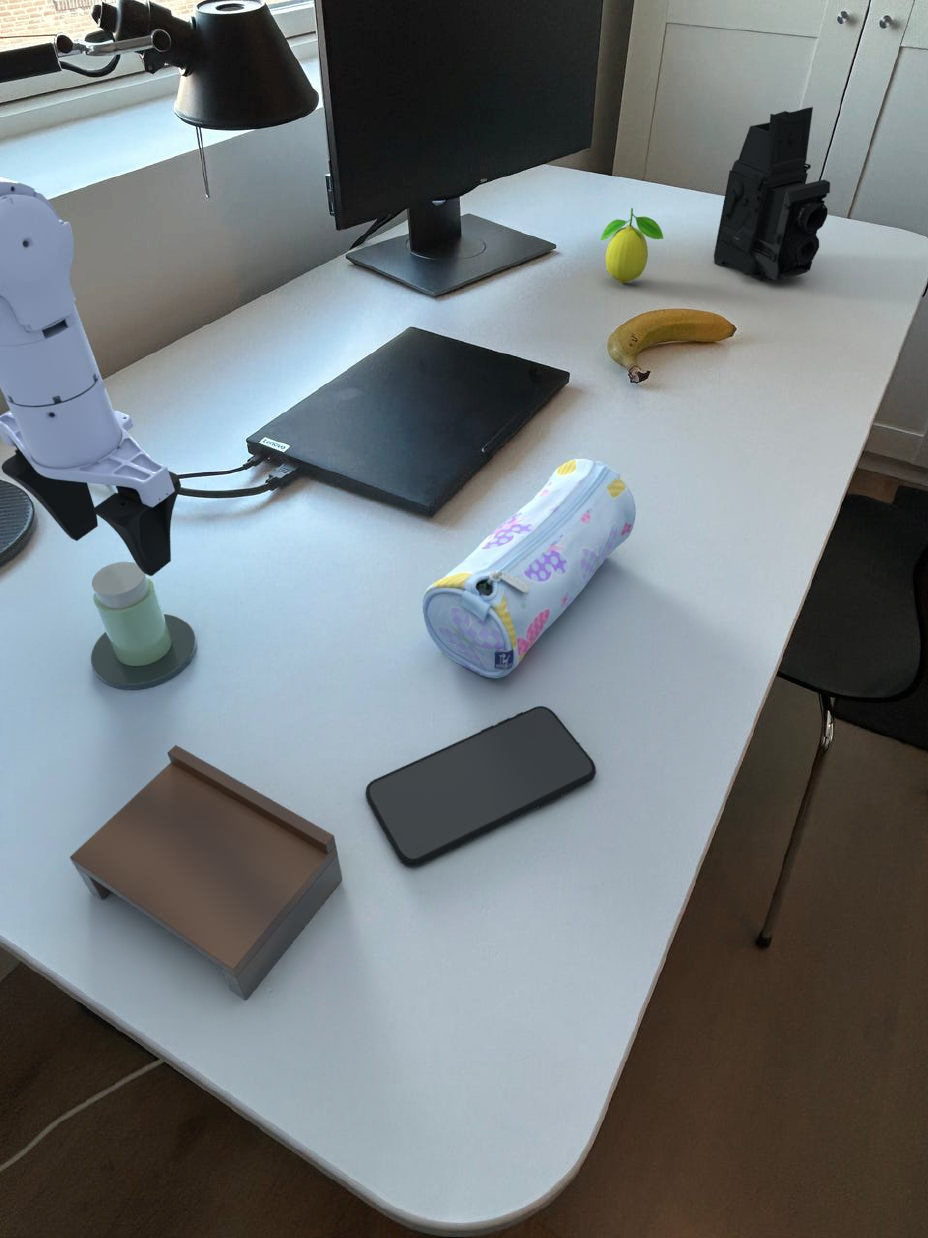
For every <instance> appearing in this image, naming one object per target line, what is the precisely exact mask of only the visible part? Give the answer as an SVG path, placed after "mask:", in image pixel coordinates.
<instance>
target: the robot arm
mask: <svg viewBox="0 0 928 1238" xmlns="http://www.w3.org/2000/svg"><path fill="white" fill-rule="evenodd" d="M35 190H36V189H35V188H33V187H32V186H29V185H27V184H24V183H21V182H19V181H15V180H10V179H8V178H4V177H0V391H1V392H2V394H3V397H4V399H5V401H6V403H7V406H8V409H9V410H8V411H6V412H5V413H2V414H1V415H0V437H1V440H2V442H3V443H4V444H5V445H7V446H10V447H12V448H13V447H15V448H16V449H15V450H14V453H15V454H14V455H12V456H10V457H9V458H7V459H6V460H5V461H4V462H3V463H2V464H1V471H2V472H3V473H4V474H5V475H6V476H8V477H9V478H11V479H12V480H13V481H15V482H16V483H17V484H19V485H20V486H21V487H23V489H25V490H26V491H28V493H30V494H31V495H32V496H33V497H34V498H35V499H36V500H37V501H38V502H39V503H40V505H42V507H43V508H44V509H45V510H46V511H47V512H48V514H49V515H50V516H51V517H52V519H53V520H54V521H55V523H57V525H58V526H59V527H60V528H61V530H62V531H63V532H64V533H65V534H66V535H67V536H68V537H69V539H72V540H73V541H76V542H78V541H79V540H81V539H82V538H83V537H85V536H86V535H88V534H89V533H90V532H92V531H93V530H95V529H96V528H98V527H99V525H98V523H99V522H98V517H99V518H101V519H102V520H103V521H104V522H106V523H107V524H108V525H109V526H110V527H111V528H112V529H113V530H114V531H115V532H116V534H117V535H118V536H119V537H120V538H121V541H123V543H124V544H125V546H126V548H127V549H128V551H129V553H130V556H131V557H132V559H133V560H134V563H136V564H137V565H138V567H139V568H140V569H141V570H142V571H143V572H144V573H145V574H146V576H148V577H153V576H155V574H157V573H158V572H160V570H162V569H163V568H164V567H166V566H167V565H168V564H169V563H171V562H172V547H171V526H172V525H171V524H172V516H173V512H174V507H175V503H176V500H177V497H178V495H179V492H180V490H181V487H182V484H181V481H180V477H179V475H178V474H177V473H176V472H173V471H171V470H169V469H168V466H165V465H164V464H162V463H159V462H158V461H156V460H155V459H153V458H152V456H150V455H149V454H148V453H147V452H146V451H145V450H144V448H143V447H142V446H141V445H139V443H138V442H137V441H136V440H135V439H134V437H132V435H130V434H129V432H128V431H130V430H131V429H132V428H133V427H134V423H133V419H132V416H130V415H128V414H125V413H122V412H120V411H117V410H114V408H113V405H112V403H111V400H110V397H109V394H108V392H107V389H106V386H105V383H104V380H103V377H102V374H101V372H100V369H99V367H98V364H97V361H96V358H95V355H94V352H93V350H92V347H91V344H90V342H89V339H88V336H87V334H86V331H85V328H84V325H83V323H82V319H81V317H80V315H79V311H78V309H77V306H76V303H75V302H76V301H77V298H76V295H75V293H74V291H73V288H72V285H71V284H72V283H71V278H70V277H71V276H70V275H71V268H72V264H73V259H74V252H75V241H74V233H73V230H72V226H71V222H69V221H64V220H62V219H60V217H59V215H58V212H56V209H55V208H54V206H53V205H52V203H51V202H50V201H49V200H48V199H47V198H46V197H45V196H44V194H42V193H40V192H36V191H35ZM88 484H97V485H105V486H115V488H116V490H117V492H114V493H112V494H111V495H109V497H107V498H106V499H104V500H102V501H101V502H100V503H98V504H97V505H95V504H94V501H93V498H92V494H91V491H90V489H89V485H88Z"/></svg>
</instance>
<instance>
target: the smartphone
mask: <svg viewBox="0 0 928 1238" xmlns="http://www.w3.org/2000/svg"><path fill="white" fill-rule="evenodd" d="M596 774H597V767H596V765H595V762H594V760H593V758H591V757H590V755H589V754H588V753H587V751H586V750H585V749H584V748H583V747H582V745H581V744H580V743H579V742H578V740H577V739H576V738H575V737H574V735H573V733H571V732H570V730H569V729H568V728H567V727H566V726H565V724H564V723H563V722H562V720H561V719H560V718H559V717H558V716H557V714H556V713H555V712H554V711H553V710H551V709H550V708H548V707H547V706H544V705H537V706H534V707H532V708H530V709H528V710H525V711H521V712H519V713H517V714H515V715H514V716H512V717H508V718H505V719H504V720H501V721H498V722H497V723H496V724H492V725H490V726H488V727H486V728H484V729H481V730H480V731H478V732H477V733H474V734H472V735H470V736H467V737H466V738H462V739H461V740H459V741H456V742H454V743H452V744H450V745H447V746H445V747H443V748H441V749H439V750H437V751H435V752H433V753H430V754H428V755H426V756H423V757H421V758H419V759H417V760H415V761H412V762H410V763H408V764H406V765H403V766H401V767H399V768H397V769H394V770H393V771H390V772H388V773H385V774H383V775H381V776H379V777H377V778H375V779H373V780H371V781H370V782H369V783H368V784H367V786H366V787H365V798H366V801H367V803H368V805H369V807H370V809H371V810H372V812H373V814H374V816H375V818H376V819H377V821H378V823H379V825H380V827H381V829H382V831H383V833H384V835H385V836H386V838H387V839H388V841H389V844H390V845H391V847H392V849H393V851H394V852H395V854H396V856H397V858H398V859H399V860H400V861H401V862H402V863H403V864H404V865H406V866H407V867H410V868H413V867H414V868H415V867H419V866H422V865H424V864H426V863H428V862H430V861H432V860H434V859H436V858H438V857H440V856H443V855H444V854H446V853H448V852H451V851H452V850H455V849H456V848H458V847H461V846H463V845H464V844H466V843H469V842H471V841H472V840H475V839H477V838H479V837H481V836H483V835H485V834H487V833H489V832H491V831H493V830H495V829H497V828H499V827H501V826H503V825H505V824H507V823H509V822H511V821H513V820H516V819H517V818H520V817H521V816H523V815H525V814H527V813H530V812H531V811H533V810H535V809H537V808H542V807H544V806H546V805H548V804H549V803H552V802H554V801H556V800H557V799H560V798H561V797H562V796H564V795H566V794H568V793H569V792H571V791H574V790H576V789H578V788H580V787H582V786H584V785H586V784H588V783H590V782H592V781H593V780H594V778H595V777H596Z"/></svg>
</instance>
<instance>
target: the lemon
mask: <svg viewBox="0 0 928 1238" xmlns="http://www.w3.org/2000/svg"><path fill="white" fill-rule="evenodd" d="M633 218H635V221H636V225H637V226H636V227H637V228H636V227H634V225H632V223H633ZM627 223H629V224H628V225H627V226H625V225H626V224H627ZM611 236H612V237H611ZM610 237H611V239H610V241H609V243H608V245H607V248H606V252H605V253H606V254H605V266H606V270H607V272H608V274H609V275H610V277H612V278H614V279H615V280H617V281H619V283H620V284H623V285H624V284H627V282H630V281H633V280H635V279H637V278H639V277H640V276H641V275H642V274H643V272H644V270H645V269H646V266H647V263H648V258H649V249H648V243H647V239H646V238H645V237H647V238H650V239H653V240H664V235H663V231H662V229H661V227H660V225H659V224H658V223H657V221H655V220H654V219H652V218H650V217H648V216H636V215H635V214H634V208H633V207H631V208H630V219H628V220H624V219H615V220H612V221H611V222H610V223H608V225H607V226H606V227H605V229H603V232H602V235H601V237H600V238H599V239H600V240H601V241H602V240H603V241H604V240H607V239H608V238H610Z"/></svg>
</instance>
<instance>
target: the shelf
mask: <svg viewBox="0 0 928 1238" xmlns="http://www.w3.org/2000/svg"><path fill="white" fill-rule="evenodd" d="M167 756H168V759H169V761H170V762H169V764H167V765H166V766H165V767H164V768H163V769H161V770H160V772H158V774H157V775H156V776H154V777H153V778H152V779H151V780H150V781H149V782H148V783H147V784H146V785H145V786H144V787H143V788H142V789H141V790H139V791H138V792H137V794H135V795H134V796H133V797H132V798H131V799H130V800H129V801H128V802H127V803H126V804H124V806H123V807H121V808H120V809H119V810H118V811H117V812H116V813H115V814H114V815H113V816H112V817H111V818H110V819H109V820H108V821H107V822H106V823H104V825H102V826H101V827H100V828H99V829H98V830H97V831H96V832H94V834H93V835H92V836H90V837H89V839H87V840H86V842H84V843H83V844H82V845H81V846H80V847H79V848H77V850H76V851H75V852H74V853H73V854H71V855H70V857H69V859H70V861H71V862H72V864H73V866H74V867H75V869H76V870H77V872H78V874H79V875H80V877H81V879H82V881H83V882H84V884H85V886H86V887H87V890H88V891H89V892H90V893H91V894H93V895H94V896H96V897H97V898H98V899H100V900H101V901H104V899H105V898H107V897H108V895H110V894H111V893H113V894H114V895H116V896H118V897H119V898H120V899H121V900H123V901H125V902H126V903H127V904H129V905H130V906H131V907H133V908H135V909H136V910H137V911H139V912H140V913H142V914H144V915H145V916H146V917H148V918H149V919H151V920H152V921H153V922H155V923H156V924H158V925H159V926H161V927H162V928H164V929H165V930H167V931H168V932H169V933H171V934H172V935H173V936H175V937H176V938H178V939H179V940H181V941H182V942H183V943H185V944H187V945H188V946H190V947H191V948H193V949H194V950H195V951H197V952H198V953H199V954H200V955H202V956H204V957H206V958H207V959H209V961H211V962H213V963H214V964H216V965H217V966H218V967H220V969H221V971H222V974H223V976H224V978H225V980H226V983H227V985H228V987H229V989H230V991H231V992H232V993H233V994H234V995H235V994H236V995H237V996H238V997H240V998H241V999H242V1000H244V1001H247V1000H248V999H249V997H250V996H251V995H252V994H253V992H254V991H255V990H256V989H257V987H258V986H259V985H260V984H261V982H262V981H263V980H264V979H265V977H266V976H267V975H268V974H269V972H270V971H271V970H272V969H273V968H274V966H275V965H276V964H277V963H278V961H279V960H281V959H280V958H281V957H282V956H283V955H284V953H285V952H286V951H287V950H288V949H289V947H290V946H291V945H292V944H293V942H295V939H297V937H298V936H299V935H300V933H301V932H302V931H303V930H304V929H305V927H306V926H307V925H308V924H309V923H310V921H311V920H312V919H313V917H314V916H315V915H316V914H317V913H318V912H319V910H320V908H321V907H322V906H323V905H324V903H325V902H326V901H327V900H328V898H329V897H330V896H331V895H332V893H333V892H334V891H335V890H336V888H337V887H338V886H339V885H340V883H341V882H342V881H343V874H342V869H341V863H340V859H339V855H338V854H339V853H338V849H337V843H336V839H335V835H334V834H332V833H330V832H328V831H327V830H326V829H324V828H322V827H320V826H319V825H316V824H315V823H313V822H312V821H310V820H308V819H306V818H304V817H302V816H301V815H299V814H297V813H295V812H294V811H292V810H291V809H289V808H287V807H286V806H283V805H282V804H280V803H278V802H277V801H274V800H273V799H272V798H270V797H268V796H266V795H265V794H263V793H260V792H259V791H257V790H256V789H253V788H252V787H250V786H249V785H247V784H245V783H243V782H241V781H240V780H238V779H237V778H235V777H232V776H231V775H229V774H228V773H226V772H224V771H223V770H221V769H219V768H218V767H216V766H214V765H212V764H211V763H208V762H206V761H205V760H203V759H202V758H200V757H198V756H196V755H194V754H193V753H191V752H189V751H188V750H186V749H184V748H182V747H180V746H179V745H177V744H175V745H173V747H171V749H169V750H168V751H167Z"/></svg>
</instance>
